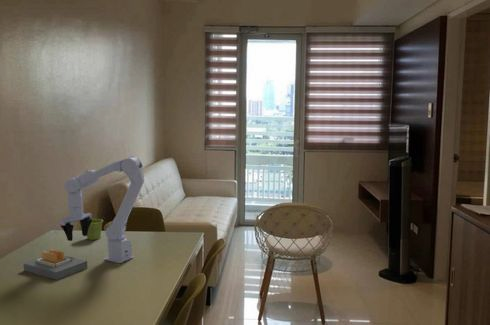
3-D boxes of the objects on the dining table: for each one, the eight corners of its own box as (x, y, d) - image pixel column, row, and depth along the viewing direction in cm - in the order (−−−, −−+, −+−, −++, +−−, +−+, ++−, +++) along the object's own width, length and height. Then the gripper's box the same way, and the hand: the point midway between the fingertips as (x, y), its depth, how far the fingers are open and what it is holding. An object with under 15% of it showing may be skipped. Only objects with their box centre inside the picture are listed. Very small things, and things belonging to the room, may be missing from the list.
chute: (64, 261, 173) (63, 252, 172) (55, 264, 169) (54, 254, 169) (51, 258, 177) (50, 248, 176) (42, 261, 174) (41, 251, 173)
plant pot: (100, 241, 210) (99, 223, 209) (80, 241, 211) (79, 223, 210) (106, 235, 220) (105, 218, 219) (88, 235, 220) (87, 219, 219)
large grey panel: (87, 268, 174) (86, 258, 173) (56, 280, 162) (56, 269, 161) (55, 260, 184) (54, 250, 183) (24, 270, 172) (23, 260, 171)
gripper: (82, 202, 190) (84, 232, 192) (54, 209, 177) (56, 241, 179) (94, 203, 187) (96, 234, 188) (65, 210, 174) (68, 243, 176)
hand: (77, 238), depth 183 cm, fingers open, 7 cm apart
